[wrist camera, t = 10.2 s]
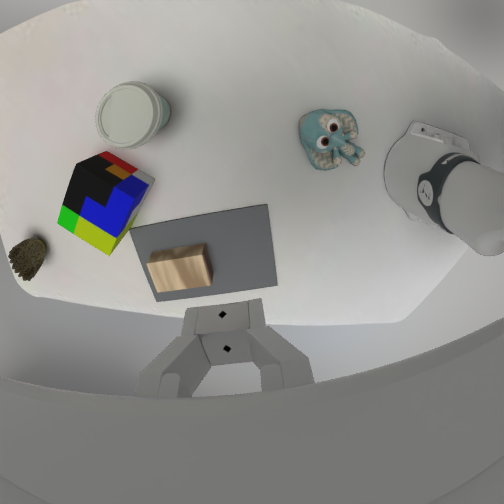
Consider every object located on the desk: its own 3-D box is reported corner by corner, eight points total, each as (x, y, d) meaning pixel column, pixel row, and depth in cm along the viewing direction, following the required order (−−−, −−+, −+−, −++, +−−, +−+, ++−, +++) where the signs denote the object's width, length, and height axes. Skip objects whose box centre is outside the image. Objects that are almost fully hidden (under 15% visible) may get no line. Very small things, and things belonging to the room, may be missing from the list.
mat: (266, 204, 44) (267, 204, 44) (277, 284, 52) (277, 285, 52) (129, 228, 45) (129, 229, 45) (157, 300, 53) (156, 301, 52)
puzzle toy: (155, 179, 41) (134, 198, 33) (130, 227, 45) (109, 255, 36) (106, 150, 38) (76, 163, 29) (86, 200, 42) (57, 223, 33)
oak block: (203, 254, 43) (146, 263, 44) (212, 285, 46) (157, 292, 46) (206, 243, 47) (152, 251, 47) (213, 272, 50) (162, 279, 50)
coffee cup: (148, 77, 33) (117, 67, 23) (190, 105, 36) (173, 103, 26) (117, 122, 36) (79, 129, 26) (158, 150, 39) (130, 165, 29)
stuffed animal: (356, 196, 39) (295, 158, 34) (335, 179, 45) (277, 146, 39) (392, 139, 35) (336, 91, 29) (366, 129, 40) (312, 88, 35)
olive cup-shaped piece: (40, 223, 43) (18, 241, 36) (59, 252, 46) (39, 273, 39) (24, 238, 44) (3, 256, 37) (42, 265, 47) (23, 285, 40)
